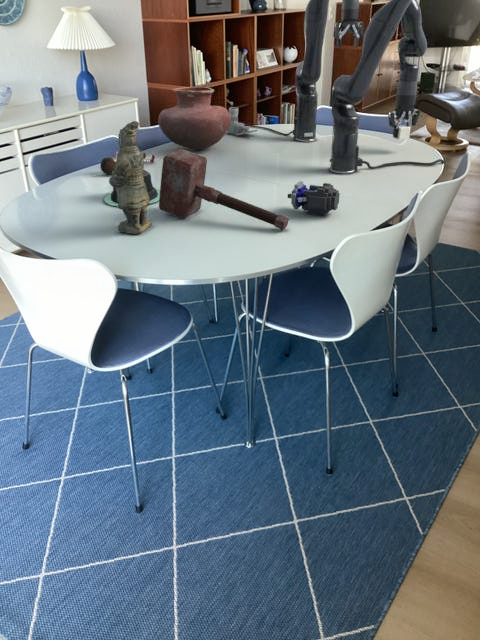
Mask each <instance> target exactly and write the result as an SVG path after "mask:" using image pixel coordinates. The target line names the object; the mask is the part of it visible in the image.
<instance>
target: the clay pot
mask: <svg viewBox="0 0 480 640" xmlns="http://www.w3.org/2000/svg"><path fill="white" fill-rule="evenodd" d="M172 92H173V93H175V95H176V97H177V104H176V105H175V106H174V107H170V108H169V107H168V108H164V109H163V110H161V111H160V113H159V115H158V120H157V123H158V127H159V129H160V130H161V132H162V133H163V135H164V136H165V137H166V138H167V139H168V140H170V141H171V142H172V143H174V144H175V145H177V146H180V147H182V148H186V149H190V150H193V151H197V150H198V151H200V150H205V149H208V148H210V147H213V146H214V145H216V144H217V143H220V141H221V140H222V139H223V138H224V136H225V135H226V134H227V130H228V127H229V125H230V122H231V116H230V113H229V110H228V109H226V108H225V107H224V106H221V105H211V103H212V102H211V100H212V96H213V94H214V92H215V89H214V88H211V87H207V86H186V87H185V86H184V87H176V88H173V89H172Z"/></svg>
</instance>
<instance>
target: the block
mask: <svg viewBox="0 0 480 640" xmlns="http://www.w3.org/2000/svg"><path fill="white" fill-rule="evenodd" d="M398 129H399V132H398V138H394V136H393V135H392V138H394V139H395V140H400V141H401V140H402V141H403V140H409V139H410V138H411V137H410V136H411V132H410V129H411V130H412V127H409V126H406V124H400V126H399V128H398Z"/></svg>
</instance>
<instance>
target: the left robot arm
mask: <svg viewBox="0 0 480 640" xmlns="http://www.w3.org/2000/svg"><path fill="white" fill-rule="evenodd" d="M329 3H330V0H309V1H308V3H307V5H306V6H305V11H304V12H305V13H304V19H303V20H304V21H303V33H304V43H305V44H304V46H305V47H304V48H305V49H304V56H303V60H302V61H300V62H299V63H298V65H297V66H296V70H295V94H296V110H295V111H296V113H295V117H294V118H293V119H294V120H293V129H292V130H291V131H289V132H288V133H283V132H280V131H277V130H274V129H273V128H269V127H265V126H259V125H252V124H246V123H244V126H246V127H249V128H257V129H263V130H268V131H271V132H273V133H275V134H279V135H282V136H290V135H291V134H292V136H293V141H297V142H302V143H310V142H314V141H316V140H317V119H318V118H317V117H318V96H319V95H318V91H317V82H318V81H319V80H320V77H321V75H322V57H323V55H322V54H323V47H324V41H325V34H326V28H327V23H328V21H327V20H328V13H329ZM359 8H360V0H342V1H341V15H340V22H334V26H333V33H332V37H333V38H335V39H336V47H337V48H338V49H341V48H342V41H343V40H342V37H343V36H344V35H346V34H352V35H353V37H354V39H353V48H358V46H359V43H360V38H361V37H364V21H359V22H358V20H359V19H358V18H359ZM357 28H358V30H357ZM239 123H243V121H239Z"/></svg>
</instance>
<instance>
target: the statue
mask: <svg viewBox="0 0 480 640" xmlns="http://www.w3.org/2000/svg"><path fill="white" fill-rule="evenodd" d="M139 126H140V122H139V121H136V120H134V121H131V122H129V123H127V124H126V125H125V126H123V127H122V128H121V129H119V133H118V139H117V141H118V146H119V151H118V154H117V160H116V164H115V170H114V175H113V176H112V175H110V177H109V180H108V183H109V184H110V186H111V187H112V188H113V187H114V188H115V189H116V192H117V202H118V206H117V209H119V210H122V213H123V214H124V215H125V218H126V219H125V220H122V221H120V222H119V224H118V225H117V231H118V232H121V233H126V234H134V235H136V234H142V233H143V232H145V231H146V230H147V229H148V228H150V227H151V226H152V225H153V223H152V220H150V219H148V216H147V214H148V213H147V212H148V211H147V209H148V206H149V205H150V197H149V195H148V192H147V188H146V184H145V182H144V178H143V169H144V165H145V163H144V156H143V154H144V152H143V151H142V150H141V149H139V147H138V145H137V144H138V142H137V141H138V140H137V139H138V137H137V132H138V131H139V128H140V127H139Z"/></svg>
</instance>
